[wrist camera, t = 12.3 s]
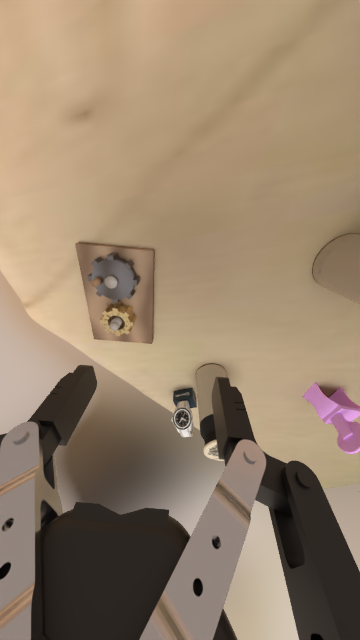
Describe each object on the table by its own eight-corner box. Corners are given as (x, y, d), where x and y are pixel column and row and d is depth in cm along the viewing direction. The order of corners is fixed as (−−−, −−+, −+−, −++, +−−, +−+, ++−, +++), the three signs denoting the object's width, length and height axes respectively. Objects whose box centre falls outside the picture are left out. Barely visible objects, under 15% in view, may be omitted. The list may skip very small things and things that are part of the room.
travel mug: (194, 364, 46) (200, 441, 30) (225, 361, 45) (248, 439, 29) (197, 385, 50) (203, 462, 34) (225, 382, 49) (245, 460, 33)
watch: (190, 383, 49) (192, 423, 40) (197, 400, 53) (200, 441, 44) (171, 387, 50) (168, 427, 41) (179, 403, 54) (179, 444, 45)
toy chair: (326, 403, 53) (372, 463, 40) (300, 398, 52) (338, 458, 39) (345, 385, 49) (404, 445, 36) (317, 379, 48) (367, 440, 35)
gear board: (154, 249, 31) (148, 257, 26) (152, 339, 42) (148, 358, 36) (79, 242, 31) (57, 248, 25) (96, 335, 41) (83, 353, 36)
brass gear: (135, 302, 35) (132, 309, 32) (136, 329, 38) (133, 337, 36) (103, 300, 35) (97, 307, 32) (107, 326, 38) (102, 335, 35)
